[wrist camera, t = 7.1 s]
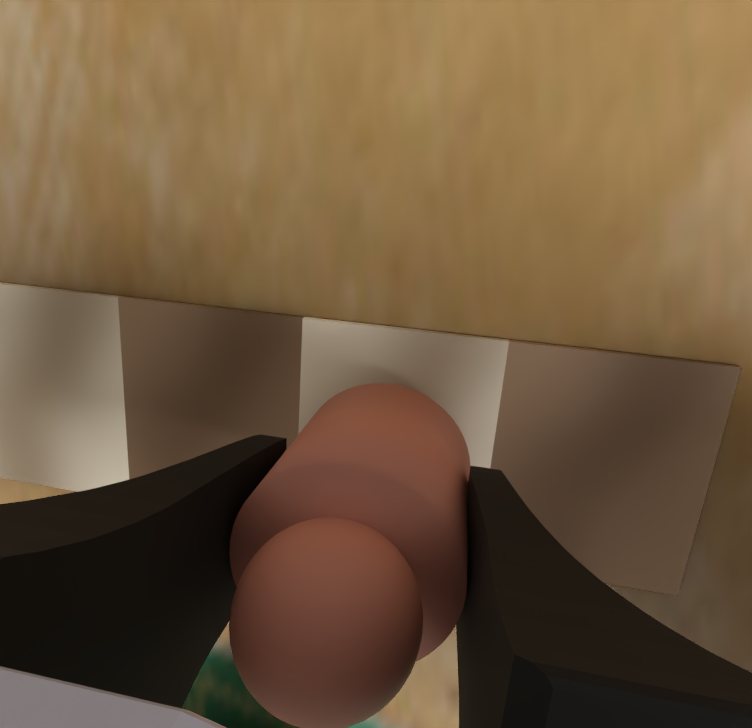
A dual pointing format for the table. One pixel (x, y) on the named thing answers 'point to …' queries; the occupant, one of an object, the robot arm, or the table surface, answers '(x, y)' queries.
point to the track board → (358, 367)
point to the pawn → (351, 557)
